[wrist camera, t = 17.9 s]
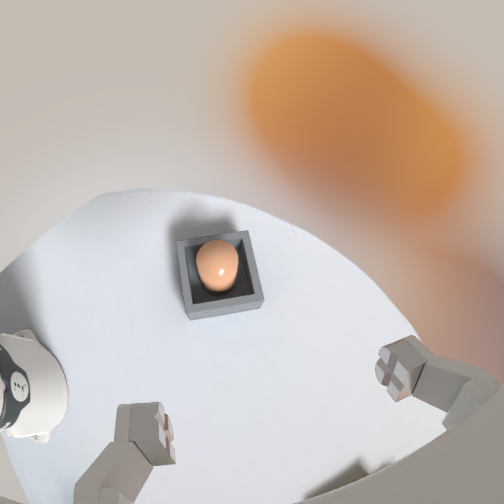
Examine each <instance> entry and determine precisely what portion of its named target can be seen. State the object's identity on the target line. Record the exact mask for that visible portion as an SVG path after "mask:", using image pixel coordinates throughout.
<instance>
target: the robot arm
mask: <svg viewBox="0 0 504 504" xmlns="http://www.w3.org/2000/svg"><path fill="white" fill-rule="evenodd" d="M378 355H379V356H380V359H379V360H378V361H377V363H376V366H375V373H376V377H377V379H378V381H379V382H380V383H381V384H382V385H385V386H387V392H388V394H389V395H390V396H391V397H392V399H393V400H394V401H395V402H398V401H400V400H402V399H404V398H406V397H408V396H410V395H412V396H414V397H416V398H418V399H420V400H422V401H424V402H426V403H428V404H430V405H432V406H434V407H437V408H439V409H441V410H443V411H445V412H447V415H446V416H445V418H444V419H443V422H442V424H443V425H444V427H445V428H446V429H447V431H446V432H444V433H443V434H441V435H440V436H438V437H437V438H435V439H434V440H432V441H430V442H429V443H427V444H426V445H424V446H423V447H421V448H419V449H418V450H416V451H414V452H412V453H411V454H409V455H407V456H405V457H404V458H402V459H400V460H398V461H396V462H395V463H393V464H391V465H389V466H387V467H385V468H383V469H381V470H379V471H377V472H375V473H373V474H370V475H368V476H366V477H364V478H362V479H359V480H357V481H355V482H352V483H350V484H348V485H345V486H343V487H340V488H338V489H335V490H332V491H330V492H327V493H324V494H321V495H318V496H315V497H312V498H309V499H306V500H303V501H300V502H296V503H293V504H504V385H503V386H502V385H501V384H500V383H499V382H498V381H497V380H496V379H494V378H493V377H492V376H491V375H490V374H489V373H488V372H487V371H486V370H485V369H482V368H479V367H475V366H472V365H469V364H465V363H462V362H458V361H455V360H451V359H448V358H445V357H441V356H438V357H436V356H435V355H434V354H433V353H432V352H431V351H430V350H429V349H428V348H427V347H426V346H425V345H424V344H423V343H422V342H421V341H419V340H418V339H417V338H416V337H415V336H413V335H410V336H408V337H405V338H403V339H400V340H398V341H395V342H393V343H391V344H388V345H386V346H383V347H381V349H380V350H379V354H378ZM67 405H68V389H67V383H66V379H65V376H64V373H63V371H62V369H61V367H60V365H59V363H58V361H57V360H56V358H55V357H54V356H53V355H52V354H51V353H50V352H49V351H48V350H47V349H46V348H44V347H43V346H42V345H41V344H40V343H39V342H38V340H37V338H36V336H35V334H34V333H33V332H32V331H31V330H29V329H24V330H21V331H18V332H16V333H13V334H10V335H9V334H5V333H1V334H0V432H5V434H6V435H8V436H12V435H13V436H14V437H27V438H29V439H32V440H34V441H37V442H40V443H47V442H48V441H49V439H50V437H51V433H52V430H53V429H54V428H55V427H56V426H57V425H58V424H59V423H60V422H61V421H62V419H63V418H64V416H65V413H66V410H67ZM173 439H174V436H173V429H172V424H171V421H170V419H169V416H168V415H167V414H165V413H164V406H163V405H162V403H161V402H151V403H136V404H119V406H118V408H117V416H116V425H115V435H114V442H110V443H109V444H108V445H107V447H106V448H105V449H104V450H103V451H102V453H101V454H100V455H99V456H98V457H97V459H96V460H95V461H94V462H93V463H92V465H91V466H90V467H89V468H88V469H87V471H86V472H85V473H84V474H83V475H82V477H81V478H80V479H79V480H78V481H77V482H76V484H75V491H74V504H134V501H135V499H136V497H137V496H138V494H139V492H140V490H141V489H142V487H143V485H144V483H145V481H146V480H147V478H148V476H149V474H150V473H151V471H152V469H153V466H161V465H171V464H176V459H175V449H174V447H173V445H172V444H171V442H172V440H173ZM0 504H22V503H19V502H16V501H13V500H10V499H7V498H5V497H2V496H0Z"/></svg>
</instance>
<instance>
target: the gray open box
mask: <svg viewBox="0 0 504 504" xmlns="http://www.w3.org/2000/svg"><path fill="white" fill-rule="evenodd" d="M213 240H221V241H225V242H227V243H229V244H231V245H232V246H233V247H234V248H235V250H236V252H237V254H238V267H237V275H236V283H235V286H234V288H233V289H232V290H231V291H230V292H229V293H228V294H226V295H223V296H213V295H211V294H209V293H207V292H206V291H205V290H204V289H203V287H202V284H201V280H200V276H199V272H198V267H197V262H196V257H197V253H198V251H199V249H200V248H201V247H202V246H203V245H204V244H206V243H207V242H210V241H213ZM176 244H177V253H178V261H179V269H180V276H181V283H182V290H183V297H184V304H185V310H186V314H187V316H188V318H189V319H190V320H196V319H202V318H208V317H214V316H220V315H226V314H231V313H237V312H242V311H248V310H253V309H258V308H260V307H261V305H262V303H263V301H264V296H263V292H262V288H261V283H260V279H259V275H258V270H257V266H256V262H255V258H254V253H253V249H252V245H251V240H250V236H249V232H248V230H247V231H240V232H233V233H227V234H220V235H213V236H207V237H200V238H194V239H188V240H181V241H176Z"/></svg>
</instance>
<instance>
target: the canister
mask: <svg viewBox="0 0 504 504" xmlns="http://www.w3.org/2000/svg"><path fill="white" fill-rule="evenodd" d="M196 262H197V267H198V272H199V276H200V280H201V284H202V287H203V289H204V290H205V291H206V292H207V293H209V294H211V295H213V296H223V295H226V294H228V293H229V292H230V291H231V290H232V289H233V288H234V286H235V283H236V275H237V267H238V254H237V252H236V250H235V248H234V247H233V246H232V245H231V244H229V243H227V242H225V241H221V240H213V241H210V242H207V243H206V244H204V245H203V246H202V247H201V248H200V249H199V251H198V253H197V257H196Z"/></svg>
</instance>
